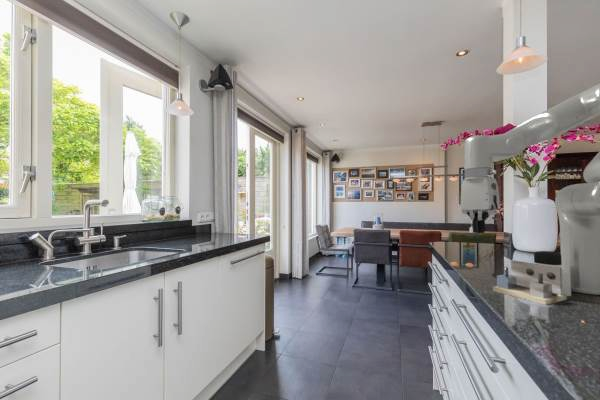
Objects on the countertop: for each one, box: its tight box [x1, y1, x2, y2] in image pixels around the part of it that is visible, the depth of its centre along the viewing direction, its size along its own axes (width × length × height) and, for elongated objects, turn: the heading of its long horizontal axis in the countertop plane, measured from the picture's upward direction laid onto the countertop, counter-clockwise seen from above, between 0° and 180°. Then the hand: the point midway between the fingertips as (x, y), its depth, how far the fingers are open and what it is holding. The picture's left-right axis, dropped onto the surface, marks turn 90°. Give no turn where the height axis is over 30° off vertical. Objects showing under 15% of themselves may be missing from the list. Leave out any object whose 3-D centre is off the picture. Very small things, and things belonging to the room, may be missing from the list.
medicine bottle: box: [533, 250, 572, 297], centre depth 82 cm, size 7×7×12 cm
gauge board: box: [492, 259, 568, 306], centre depth 79 cm, size 10×13×8 cm
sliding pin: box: [496, 266, 517, 289], centre depth 82 cm, size 4×3×6 cm
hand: (478, 232), depth 88 cm, fingers closed
